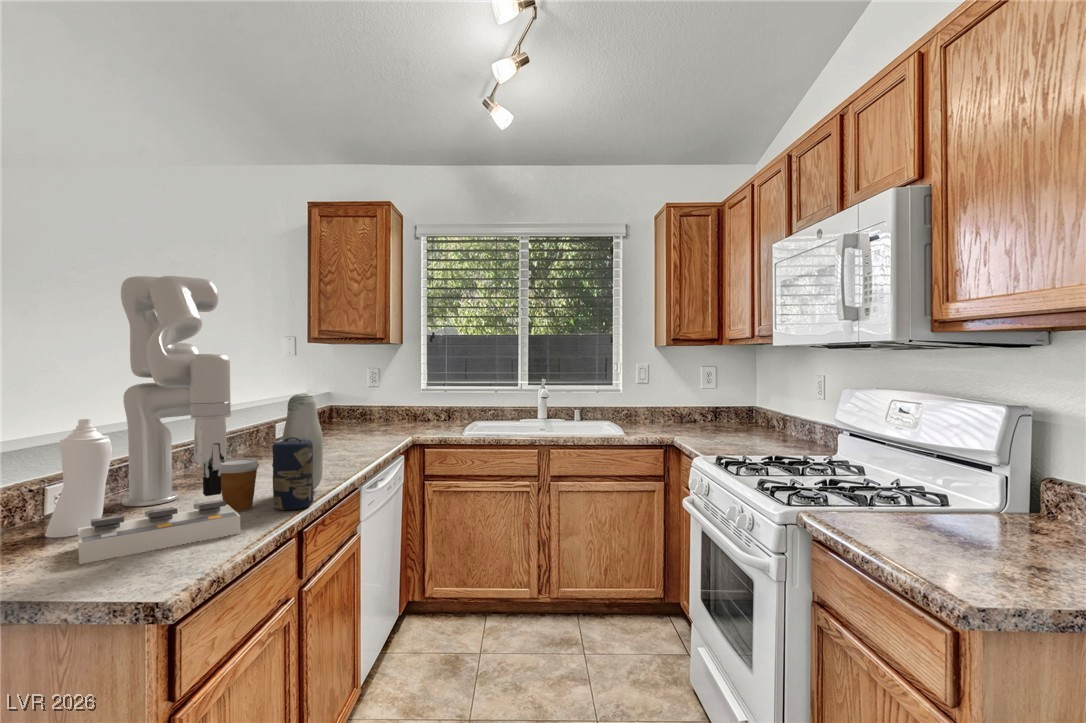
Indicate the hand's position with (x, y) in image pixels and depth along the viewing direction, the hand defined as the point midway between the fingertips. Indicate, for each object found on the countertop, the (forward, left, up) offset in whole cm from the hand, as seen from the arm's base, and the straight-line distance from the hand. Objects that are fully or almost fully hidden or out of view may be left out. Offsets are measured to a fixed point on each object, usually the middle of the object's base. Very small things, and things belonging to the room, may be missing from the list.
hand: (212, 494), depth 122 cm
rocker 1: (-3, -18, -3) cm, 18 cm away
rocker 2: (-3, 0, -3) cm, 4 cm away
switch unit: (-2, -9, -9) cm, 12 cm away
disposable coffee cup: (-19, +9, -9) cm, 22 cm away
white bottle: (-21, -22, -9) cm, 32 cm away
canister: (-11, +20, -9) cm, 24 cm away
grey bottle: (-25, +27, -9) cm, 38 cm away
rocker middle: (-3, -9, -3) cm, 10 cm away
